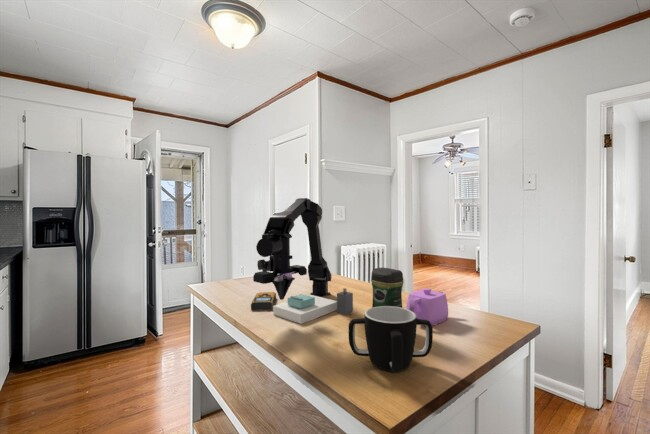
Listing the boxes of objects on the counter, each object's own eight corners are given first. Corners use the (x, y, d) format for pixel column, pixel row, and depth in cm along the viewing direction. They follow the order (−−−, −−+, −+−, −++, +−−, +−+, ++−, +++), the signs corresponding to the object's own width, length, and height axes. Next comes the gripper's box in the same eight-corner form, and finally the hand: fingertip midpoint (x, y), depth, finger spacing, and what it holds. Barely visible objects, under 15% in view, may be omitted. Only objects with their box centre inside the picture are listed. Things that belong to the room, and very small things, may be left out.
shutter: (301, 300, 116) (301, 292, 116) (314, 304, 111) (314, 295, 111) (287, 304, 111) (287, 296, 110) (300, 308, 106) (300, 299, 106)
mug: (440, 367, 73) (440, 315, 72) (392, 390, 63) (392, 331, 63) (388, 343, 86) (388, 299, 86) (342, 359, 77) (342, 311, 76)
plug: (344, 310, 115) (343, 286, 114) (352, 312, 112) (352, 288, 112) (337, 312, 112) (336, 288, 111) (345, 315, 109) (345, 290, 109)
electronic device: (276, 299, 132) (276, 291, 131) (272, 310, 116) (272, 301, 116) (256, 299, 131) (256, 291, 131) (249, 311, 115) (249, 302, 115)
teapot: (429, 309, 114) (429, 281, 114) (456, 317, 106) (456, 287, 106) (398, 321, 103) (398, 290, 103) (426, 330, 95) (426, 296, 95)
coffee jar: (408, 329, 95) (408, 268, 95) (391, 336, 91) (391, 272, 90) (383, 320, 103) (383, 264, 103) (367, 326, 98) (366, 267, 98)
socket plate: (310, 302, 124) (310, 294, 124) (338, 309, 115) (338, 301, 115) (273, 314, 110) (273, 305, 110) (300, 323, 101) (300, 314, 101)
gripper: (286, 248, 116) (286, 289, 116) (243, 253, 102) (243, 301, 103) (307, 250, 109) (308, 295, 109) (263, 256, 95) (264, 308, 95)
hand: (281, 299), depth 104 cm, fingers closed
